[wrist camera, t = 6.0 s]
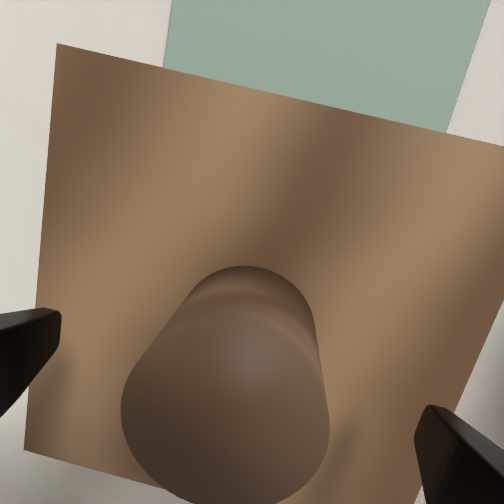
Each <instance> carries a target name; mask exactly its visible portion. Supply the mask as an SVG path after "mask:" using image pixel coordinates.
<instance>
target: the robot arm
mask: <svg viewBox="0 0 504 504" xmlns="http://www.w3.org/2000/svg"><path fill="white" fill-rule="evenodd" d="M61 323H62V315H61V313H60V312H59V311H58V310H54V309H50V308H46V307H42V308H35V309H29V310H23V311H16V312H10V313H4V314H0V418H1V417H2V416H3V414H4V413H5V412H6V411H7V410H8V409H9V408H10V407H11V406H12V405H13V404H14V403H15V402H16V400H17V399H18V398H19V397H20V396H21V395H22V393H23V392H24V391H25V390H26V388H27V387H28V386H29V385H30V383H31V382H32V381H33V380H34V378H35V377H36V376H37V374H38V373H39V372H40V371H41V369H42V368H43V367H44V366H45V364H46V363H47V362H48V361H49V359H50V358H51V357H52V356H53V354H54V353H55V352H56V350H57V348H58V346H59V343H60V334H61ZM414 446H415V451H416V456H417V461H418V466H419V471H420V476H421V481H422V486H423V491H424V496H425V500H426V504H504V450H503V449H501V448H500V447H498V446H497V445H496V444H494V443H493V442H492V441H490V440H489V439H488V438H486V437H485V436H484V435H482V434H481V433H479V432H478V431H477V430H475V429H474V428H473V427H471V426H470V425H469V424H467V423H466V422H465V421H463V420H462V419H461V418H459V417H458V416H456V415H455V414H454V413H452V412H451V411H450V410H448V409H447V408H444V407H440V406H436V405H432V404H429V405H427V406H426V407H425V408H424V410H423V413H422V415H421V418H420V420H419V423H418V425H417V428H416V430H415V433H414Z"/></svg>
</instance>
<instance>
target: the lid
mask: <svg viewBox="0 0 504 504" xmlns="http://www.w3.org/2000/svg"><path fill="white" fill-rule="evenodd" d="M503 300H504V146H499V145H495V144H491V143H486V142H482V141H478V140H473V139H469V138H465V137H460V136H456V135H452V134H447V133H443V132H439V131H434V130H430V129H426V128H421V127H417V126H413V125H408V124H404V123H400V122H395V121H391V120H387V119H382V118H378V117H374V116H369V115H365V114H361V113H356V112H352V111H348V110H343V109H339V108H335V107H330V106H326V105H322V104H318V103H313V102H309V101H305V100H300V99H296V98H292V97H287V96H283V95H279V94H274V93H270V92H266V91H261V90H257V89H253V88H248V87H244V86H240V85H235V84H231V83H227V82H222V81H218V80H214V79H209V78H205V77H201V76H196V75H192V74H188V73H183V72H179V71H175V70H170V69H166V68H162V67H157V66H153V65H149V64H144V63H140V62H136V61H132V60H127V59H123V58H119V57H114V56H110V55H106V54H101V53H97V52H93V51H88V50H84V49H80V48H75V47H71V46H67V45H62V44H58V43H57V48H56V60H55V72H54V85H53V97H52V109H51V122H50V134H49V146H48V158H47V171H46V183H45V195H44V208H43V220H42V232H41V244H40V257H39V269H38V281H37V294H36V306H35V308H42V307H46V308H50V309H54V310H58V311H59V312H60V313H61V315H62V323H61V334H60V343H59V346H58V348H57V350H56V352H55V353H54V354H53V356H52V357H51V358H50V359H49V361H48V362H47V363H46V364H45V366H44V367H43V368H42V369H41V371H40V372H39V373H38V374H37V376H36V377H35V378H34V380H33V381H32V382H31V383H30V385H29V392H28V404H27V416H26V429H25V441H24V450H26V451H30V452H33V453H37V454H40V455H44V456H48V457H51V458H55V459H58V460H62V461H66V462H69V463H73V464H76V465H80V466H84V467H87V468H91V469H94V470H98V471H102V472H105V473H109V474H112V475H116V476H120V477H123V478H127V479H130V480H134V481H137V482H141V483H145V484H148V485H152V486H155V487H159V488H163V489H166V490H167V491H169V492H171V493H173V494H174V495H176V496H178V497H180V498H182V499H184V500H186V501H188V502H191V503H194V504H414V502H415V500H416V497H417V495H418V493H419V491H420V488H421V486H422V481H421V476H420V471H419V466H418V461H417V456H416V451H415V446H414V433H415V430H416V428H417V425H418V423H419V420H420V418H421V415H422V413H423V410H424V408H425V407H426V406H427V405H429V404H432V405H436V406H440V407H444V408H447V409H448V410H450V411H451V412H452V413H454V411H455V409H456V407H457V404H458V402H459V400H460V398H461V395H462V393H463V391H464V388H465V386H466V384H467V382H468V379H469V377H470V375H471V373H472V370H473V368H474V366H475V363H476V361H477V359H478V357H479V354H480V352H481V350H482V348H483V345H484V343H485V341H486V338H487V336H488V334H489V332H490V329H491V327H492V325H493V323H494V320H495V318H496V316H497V313H498V311H499V309H500V307H501V304H502V302H503Z"/></svg>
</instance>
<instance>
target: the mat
mask: <svg viewBox="0 0 504 504" xmlns="http://www.w3.org/2000/svg"><path fill="white" fill-rule="evenodd" d="M490 1H491V0H173V3H172V10H171V17H170V25H169V32H168V39H167V46H166V53H165V60H164V67H163V68H166V69H170V70H175V71H179V72H183V73H188V74H192V75H196V76H201V77H205V78H209V79H214V80H218V81H222V82H227V83H231V84H235V85H240V86H244V87H248V88H253V89H257V90H261V91H266V92H270V93H274V94H279V95H283V96H287V97H292V98H296V99H300V100H305V101H309V102H313V103H318V104H322V105H326V106H330V107H335V108H339V109H343V110H348V111H352V112H356V113H361V114H365V115H369V116H374V117H378V118H382V119H387V120H391V121H395V122H400V123H404V124H408V125H413V126H417V127H421V128H426V129H430V130H434V131H439V132H443V133H446V131H447V128H448V125H449V122H450V119H451V116H452V113H453V110H454V107H455V105H456V102H457V99H458V96H459V93H460V90H461V87H462V84H463V81H464V78H465V75H466V72H467V69H468V66H469V63H470V60H471V57H472V54H473V51H474V49H475V46H476V43H477V40H478V37H479V34H480V31H481V28H482V25H483V22H484V19H485V16H486V13H487V10H488V7H489V4H490Z"/></svg>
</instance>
